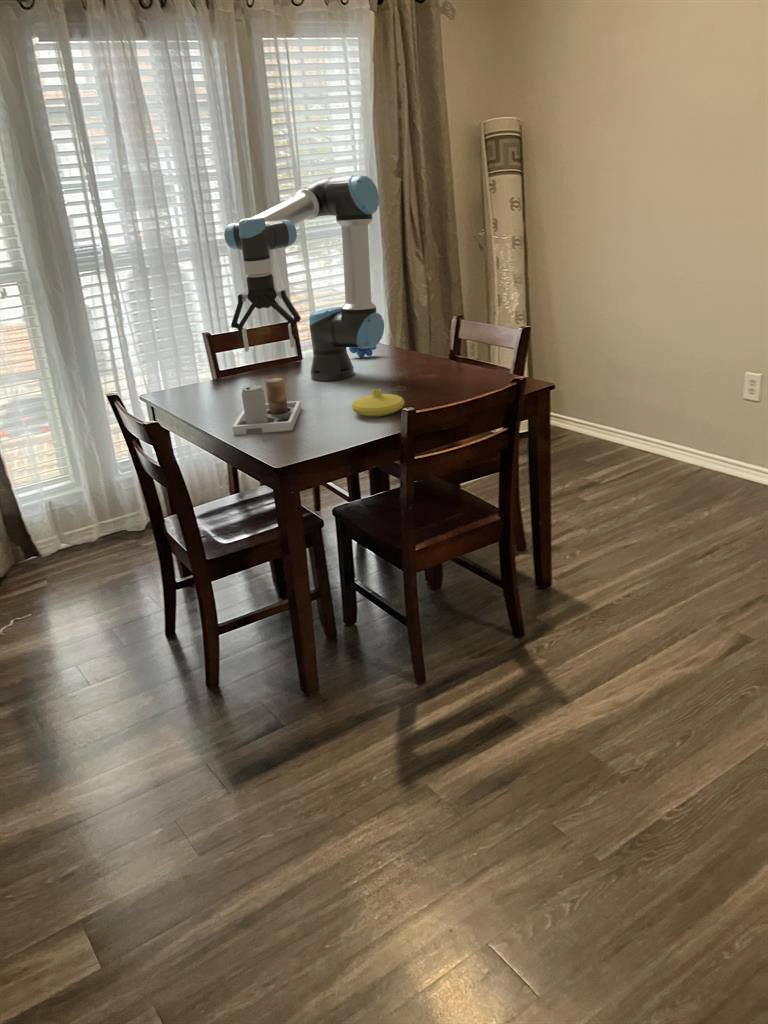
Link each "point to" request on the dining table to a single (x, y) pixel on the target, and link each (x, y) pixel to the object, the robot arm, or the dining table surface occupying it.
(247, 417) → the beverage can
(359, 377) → the dining table surface
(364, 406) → the yellow lid
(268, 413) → the white tray
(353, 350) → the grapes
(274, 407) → the brown cylinder
